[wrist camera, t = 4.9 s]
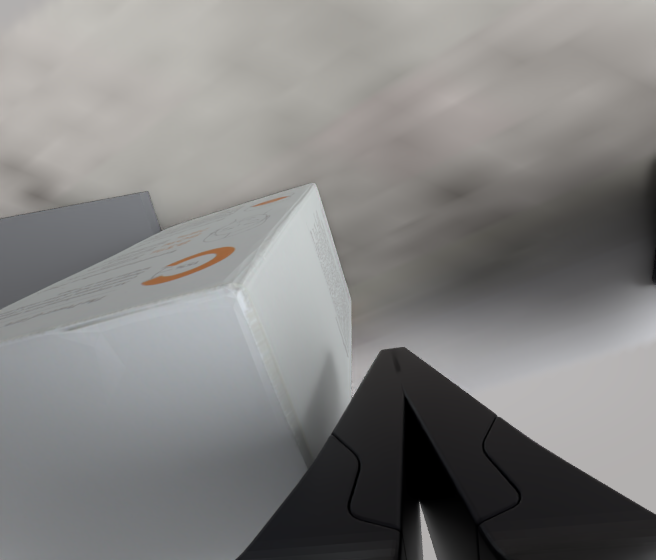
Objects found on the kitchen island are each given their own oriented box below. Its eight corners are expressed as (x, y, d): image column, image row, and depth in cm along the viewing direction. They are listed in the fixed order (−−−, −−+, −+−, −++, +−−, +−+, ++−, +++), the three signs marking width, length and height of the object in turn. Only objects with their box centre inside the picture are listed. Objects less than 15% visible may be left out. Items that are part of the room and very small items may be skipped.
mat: (147, 191, 18) (139, 193, 17) (211, 383, 22) (207, 392, 21) (-124, 242, 19) (-143, 245, 19) (-22, 414, 23) (-34, 423, 22)
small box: (212, 337, 21) (9, 622, 8) (163, 227, 19) (-199, 394, 6) (355, 301, 19) (358, 577, 7) (318, 179, 17) (233, 274, 5)
